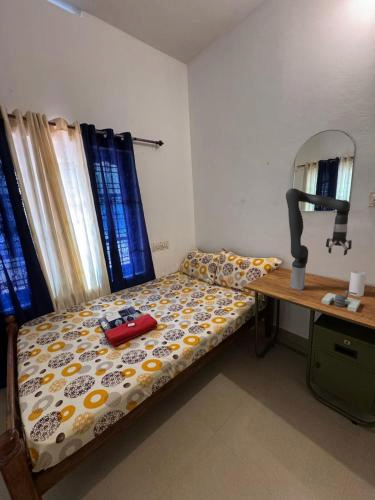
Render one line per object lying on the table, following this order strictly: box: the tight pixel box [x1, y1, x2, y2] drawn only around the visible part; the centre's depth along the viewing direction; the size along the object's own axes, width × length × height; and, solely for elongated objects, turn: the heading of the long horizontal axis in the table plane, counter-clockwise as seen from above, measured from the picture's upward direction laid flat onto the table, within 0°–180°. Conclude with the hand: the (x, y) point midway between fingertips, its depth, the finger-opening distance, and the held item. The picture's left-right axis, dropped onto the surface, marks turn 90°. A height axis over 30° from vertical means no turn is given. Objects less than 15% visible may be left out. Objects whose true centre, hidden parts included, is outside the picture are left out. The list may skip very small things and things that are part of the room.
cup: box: [348, 269, 367, 297], centre depth 150 cm, size 8×8×16 cm
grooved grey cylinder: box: [334, 294, 346, 308], centre depth 137 cm, size 5×5×6 cm
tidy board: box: [321, 289, 361, 313], centre depth 139 cm, size 18×14×8 cm
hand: (337, 254), depth 148 cm, fingers open, 8 cm apart
